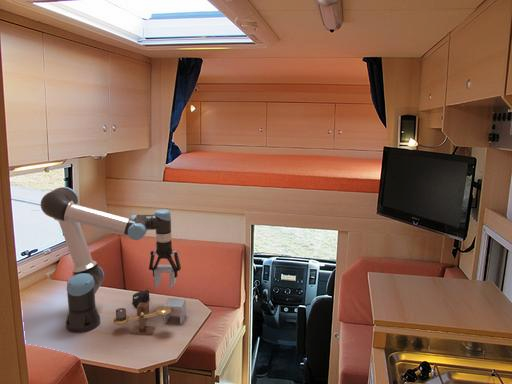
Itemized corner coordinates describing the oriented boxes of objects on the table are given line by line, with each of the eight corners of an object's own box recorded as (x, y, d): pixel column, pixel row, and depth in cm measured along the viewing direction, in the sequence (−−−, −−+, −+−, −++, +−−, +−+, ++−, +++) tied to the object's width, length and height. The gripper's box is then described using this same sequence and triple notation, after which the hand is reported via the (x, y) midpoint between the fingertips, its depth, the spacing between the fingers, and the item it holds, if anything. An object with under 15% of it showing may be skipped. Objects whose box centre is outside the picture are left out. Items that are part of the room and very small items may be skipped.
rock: (134, 308, 208) (134, 298, 207) (131, 300, 217) (130, 290, 216) (152, 305, 212) (152, 295, 211) (148, 297, 221) (147, 287, 220)
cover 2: (164, 323, 194) (163, 306, 192) (169, 314, 202) (168, 298, 200) (181, 324, 193) (181, 307, 191) (186, 315, 202) (185, 298, 200)
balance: (111, 333, 184) (110, 311, 182) (117, 325, 191) (116, 303, 189) (169, 336, 182) (168, 314, 180) (173, 328, 189) (172, 306, 187)
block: (137, 319, 197) (136, 306, 195) (140, 315, 201) (140, 302, 200) (146, 320, 196) (145, 307, 195) (149, 315, 201) (148, 302, 199)
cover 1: (154, 287, 202) (153, 270, 201) (159, 280, 211) (159, 264, 209) (171, 288, 202) (170, 271, 200) (176, 281, 210) (175, 265, 209)
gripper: (140, 242, 199) (142, 285, 203) (182, 243, 198) (184, 286, 202) (145, 237, 206) (147, 279, 211) (186, 238, 205) (187, 280, 209)
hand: (165, 282), depth 206 cm, fingers closed on cover 1, 9 cm apart
